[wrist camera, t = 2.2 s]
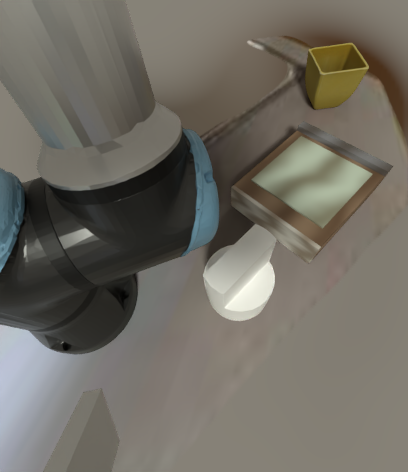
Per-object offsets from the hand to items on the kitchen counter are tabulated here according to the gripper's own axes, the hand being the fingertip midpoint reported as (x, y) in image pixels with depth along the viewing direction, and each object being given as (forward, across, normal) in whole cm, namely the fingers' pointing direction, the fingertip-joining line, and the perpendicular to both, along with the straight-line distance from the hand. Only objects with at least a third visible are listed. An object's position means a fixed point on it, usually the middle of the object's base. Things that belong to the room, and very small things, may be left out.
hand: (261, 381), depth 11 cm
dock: (+35, +17, +2) cm, 39 cm away
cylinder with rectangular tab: (+26, +2, -8) cm, 27 cm away
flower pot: (+51, +31, +19) cm, 62 cm away
